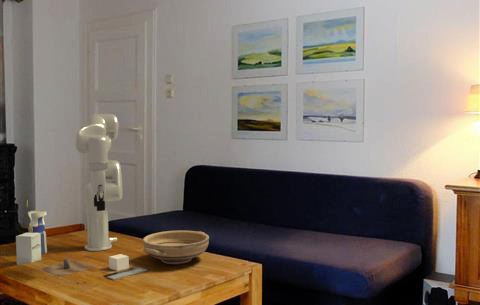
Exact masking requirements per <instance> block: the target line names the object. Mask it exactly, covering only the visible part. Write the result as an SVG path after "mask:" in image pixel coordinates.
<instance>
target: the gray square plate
mask: <svg viewBox="0 0 480 305" xmlns="http://www.w3.org/2000/svg"><path fill="white" fill-rule="evenodd" d="M128 269H129V270H127V271H123V272H120V273H115V272H112V273H111V272H110V273H108V274H105V275H104V274H103V276H104V277H103V278H106V277H107V279H109V280H112V281H115V280H116V281H117V280H119V279H123V277H124V278H126V277H130V275H131V276H133V275H138V274H141V273H145V272H148V269H147V268H144V267H140V266H133V267H131V268H130V267H129V268H128ZM137 273H138V274H137Z"/></svg>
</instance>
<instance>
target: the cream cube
mask: <svg viewBox="0 0 480 305" xmlns="http://www.w3.org/2000/svg"><path fill="white" fill-rule="evenodd" d="M129 258H130V257H129V256H128V255H126V254H125V255H124V254H122V253H119V254H115V255H111V256H108V268H109V269H111V270H113V271H115V272H114V273H120V272H123V271H127V270H129V269H130V262H129V261H130V259H129Z"/></svg>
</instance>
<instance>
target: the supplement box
mask: <svg viewBox="0 0 480 305" xmlns="http://www.w3.org/2000/svg"><path fill="white" fill-rule="evenodd" d="M15 246H16V250H15V251H16V253H15V254H16V265H17V266H19V265H24V264H28V263H34V262H38V261H42V254H41V233H29V232H24V233H22V234H19V235H16V236H15Z"/></svg>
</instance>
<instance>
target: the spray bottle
mask: <svg viewBox="0 0 480 305" xmlns="http://www.w3.org/2000/svg"><path fill="white" fill-rule="evenodd" d="M28 207H29V202H28V199H27V200H26V208H28ZM47 215H48V214H47V211H46V210H44V209H37V210H30V211H27V216H28V218H29V219H30V223H29V224H28V225H29V226H28V227H27V228H28V233H41V255H43V254H47V253H48V248H47V247H48V245H47V234H46V233H47V232H46V229H45V228H46V227H45V226H46V223H45V216H47Z"/></svg>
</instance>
